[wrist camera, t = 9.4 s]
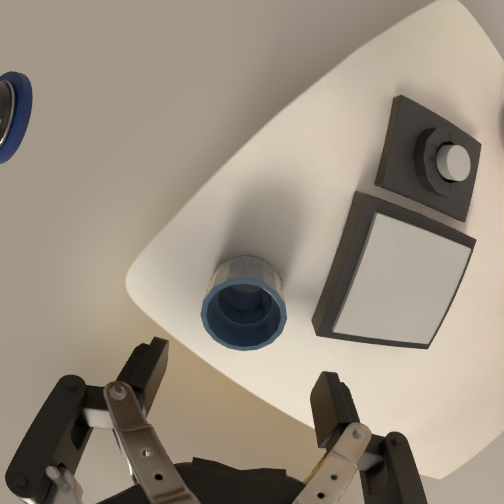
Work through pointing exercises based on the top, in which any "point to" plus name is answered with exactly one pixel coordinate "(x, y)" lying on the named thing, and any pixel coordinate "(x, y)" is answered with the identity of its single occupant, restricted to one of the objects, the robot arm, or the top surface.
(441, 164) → the button
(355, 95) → the top surface
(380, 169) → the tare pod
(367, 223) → the scale
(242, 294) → the cup
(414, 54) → the top surface
